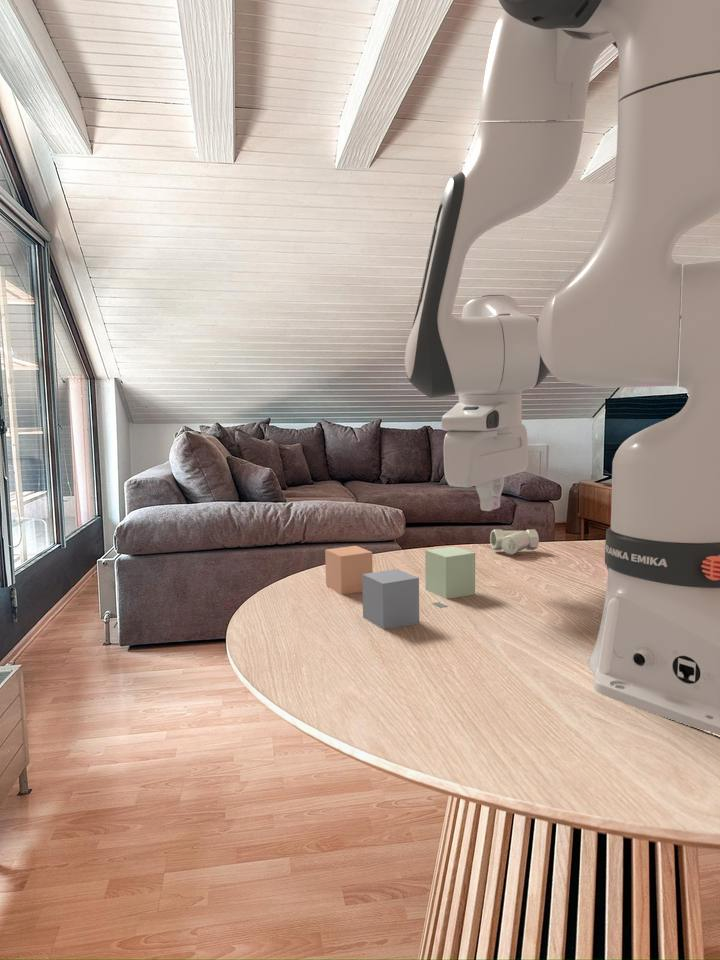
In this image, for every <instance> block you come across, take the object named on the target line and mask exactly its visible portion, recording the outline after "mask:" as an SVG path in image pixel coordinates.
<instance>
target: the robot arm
mask: <svg viewBox="0 0 720 960" xmlns="http://www.w3.org/2000/svg"><path fill="white" fill-rule="evenodd" d="M498 2H499V4H500V6H501V7H502V9H503V11H502V12H501V14H500V15H499V17H498V19H497V21H496V23H495V25H494V26H495V27H494V29H493V33H492V36H491V37H492V38H491V41H490V45H489V46H490V47H489V49H488V55H487V61H486V65H485V69H484V70H485V71H484V76H483V81H482V89H481V96H480V97H481V98H480V105H479V117H478V118H479V119H478V121H480V122H478V128H477V129H478V130H477V137H476V140H475V143H474V147H473V150H472V152H471V154H470V157H468V158H469V159H468V161H467V162H466V164H465V166H464V168H463V169H462V170H461V171H460V172H459V173H456V174H455V175H454V176H451V178H449V180H448V182H447V184H446V185H445V188H444V191H443V193H442V196H441V199H440V203H439V205H438V210H437V213H436V217H435V222H434V227H433V231H432V235H431V241H430V244H429V248H428V249H429V250H428V255H427V259H426V264H425V269H424V274H423V279H422V284H421V288H420V294H419V299H418V303H417V308H416V312H415V316H414V319H413V323H412V327H411V330H410V333H409V336H408V339H407V341H406V345H405V351H404V368H405V372H406V376H407V381H408V382H409V383H410V384H411V385H412V386H413V387H414V388H415V389H416V390H418V391H419V392H420V393H422V394H424V395H425V396H427V397H429V398H430V399H434V398H441V397H442V398H443V397H449V396H456V395H457V394H458V402H457V403H456V404H455V405H454V406H453V407H452V408H451V409H449V410H448V411H447V412H446V413H444V414H443V415H442V417H441V429H442V430H443V431H446V434H445V436H444V439H443V469H444V470H443V471H444V477H445V481H446V482H447V484H448V486H449V487H454V488H455V487H457V488H471V487H472V488H473V487H475V489H476V492H477V495H478V498H479V506H480V507H479V508H480V510H481V511H484V512H492V511H494V510H496V509H499V508H501V495H502V494H503V493H502V492H503V490H504V486H505V478H506V477H509V476H513V475H516V474H520V473H523V472H526V471H527V469H528V467H529V441H528V440H529V439H528V432H527V428H526V425H525V424H523V423H522V415H523V412H522V411H523V409H522V406H523V404H522V403H523V401H522V399H523V398H522V396H523V395H522V393H523V391H527V390H530V389H535V388H536V387H537V386H539V385H540V384H541V383H542V382H543V381H544V380H545V379H546V377H548V375H549V374H551V375H552V376H554V378H556V379H557V380H558V381H561V382H565V383H572V384H576V385H583V386H590V387H595V388H603V389H604V388H605V389H611V388H613V389H614V388H615V389H616V388H643V387H644V388H646V387H649V388H650V387H651V388H652V387H653V388H654V387H679V388H683V389H685V390H686V392H688V398H687V401H686V403H685V405H684V406H683V407H682V408H681V410H680V411H679V412H677V413H676V414H674V415H672V416H671V417H668V418H666V419H664V420H662V421H659V422H657V423H654V424H653V425H650V426H648V427H646V428H643V429H642V430H640V431H638V432H636V433H634V434H632V435H631V436H629V437H628V438H626V439H625V440H624V441H623V442H622V443H621V444H620V445H619V447H618V449H617V450H616V452H615V454H614V457H613V459H612V466H611V467H612V468H611V474H612V475H611V505H610V506H611V507H610V508H611V509H610V526H609V527H607V529H606V531H605V542H604V564H605V565H606V569H607V581H606V582H607V583H606V590H605V596H604V597H605V598H604V605H603V610H602V615H601V619H600V621H601V622H600V625H599V631H598V634H597V638H596V641H595V645H594V648H593V651H592V653H591V656H590V658H589V668H590V670H591V672H592V673H593V675H594V680H593V690H594V691H595V692H597V693H598V694H601V695H603V696H605V697H608V698H610V699H613V700H616V701H618V702H621V703H624V704H627V705H629V706H631V707H634V708H637V709H638V710H642V711H645V712H647V711H648V712H647V713H651V714H653V715H656V716H658V715H659V717H661V716H662V717H661V718H664V717H665V718H664V719H667V718H668V719H667V720H669V719H671V720H670V721H672V720H675V721H678V722H681V723H684V724H686V725H689V726H692V727H695V728H699V729H702V730H706V731H710V732H711V733H715V734H718V735H720V260H717V261H705V262H697V263H696V262H695V263H689V264H687V263H686V264H682V263H678V262H675V260H673V257H672V256H673V255H672V253H673V250H674V247H675V246H676V243H678V241H679V239H681V237H683V236H684V234H686V233H687V232H688V231H690V230H691V229H694V228H695V227H697V226H699V225H700V224H702V223H704V222H706V221H708V220H709V219H712V218H713V217H715V216H717V215H718V214H719V213H720V0H498ZM610 45H613V46H614V47H615V48H616V49H617V55H618V56H617V57H618V80H617V81H618V85H617V88H618V89H617V134H616V135H617V137H616V155H615V156H616V157H615V172H614V180H613V181H614V182H613V190H612V195H611V196H612V197H611V201H610V206H609V210H608V213H607V216H606V219H605V222H604V225H603V227H602V230H601V232H600V234H599V236H598V238H597V240H596V242H595V243H594V245H593V247H592V248H591V250H590V251H589V253H588V254H587V256H586V257H585V258H584V260H583V262H582V263H580V265H579V266H578V267H577V268H576V269H575V270H574V272H573V273H571V275H569V276H568V277H567V278H566V279H565V280H564V281H563V282H562V283H560V284H559V285H558V286H557V287H556V288H555V289H554V290H553V292H551V294H550V295H549V296H548V298H547V299H546V301H545V303H544V304H543V307H542V308H541V310H540V314H539V316H538V317H536V316H529V315H527V314H525V313H522V312H521V311H520V307H519V303H518V301H517V300H516V299H515V298H514V297H511V296H508V295H506V294H505V295H504V294H488V295H483V296H480V297H475V298H472V299H470V300H469V301H468V302H466V303H464V305H463V308H462V313H461V316H460V317H459V316H454V315H453V311H454V307H455V302H456V298H457V293H458V290H459V285H460V281H461V276H462V273H463V268H464V264H465V260H466V257H467V254H468V252H469V250H470V248H471V246H472V245H473V244H474V243H475V242H476V241H477V240H478V238H479V237H481V236H482V235H484V234H485V233H487V232H488V231H490V230H492V229H494V227H495V228H496V227H497V226H499V225H501V224H503V223H506V222H507V221H510V220H513V219H515V218H518V217H520V216H522V215H524V214H528V213H530V212H532V211H534V210H535V209H537V208H539V207H541V206H543V205H544V204H546V203H547V202H548V201H550V200H551V199H552V198H554V197H555V196H556V195H557V194H558V193H559V192H560V191H561V190H562V189H563V188H564V186H565V185H566V184H567V183H568V182H569V180H570V178H571V177H572V175H573V173H574V171H575V169H576V165H577V163H578V159H579V154H580V149H581V145H582V138H583V133H584V132H583V131H584V127H585V126H584V124H585V121H584V120H585V119H586V118H585V117H586V109H587V101H588V99H587V98H588V91H589V85H590V80H591V74H592V71H593V68H594V66H595V64H596V62H597V60H598V59H599V57H600V56H601V55H602V54H603V52H604V51H605V50H606V49H608V48H609V46H610ZM675 721H674V722H675ZM678 722H677V723H678ZM686 725H685V726H686ZM689 726H688V727H689Z"/></svg>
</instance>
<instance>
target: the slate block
mask: <svg viewBox="0 0 720 960" xmlns="http://www.w3.org/2000/svg"><path fill="white" fill-rule="evenodd" d="M362 582H363V592H362V617H363V618H364V619H365V620H367V621H369V622H370V623H371V624H373V625H376V626H377V627H379V628H381V629H382V630H389V629H394V628H400V627H405V626H413V625H416V624H417V625H418V624H420V577H418V576H416V575H413V574H411V573H408V572H406V571H403V570H401V569H398V568H395V569H389V570H387V569H386V570H381V571H375V572H374V571H373V573H368V574H362Z"/></svg>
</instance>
